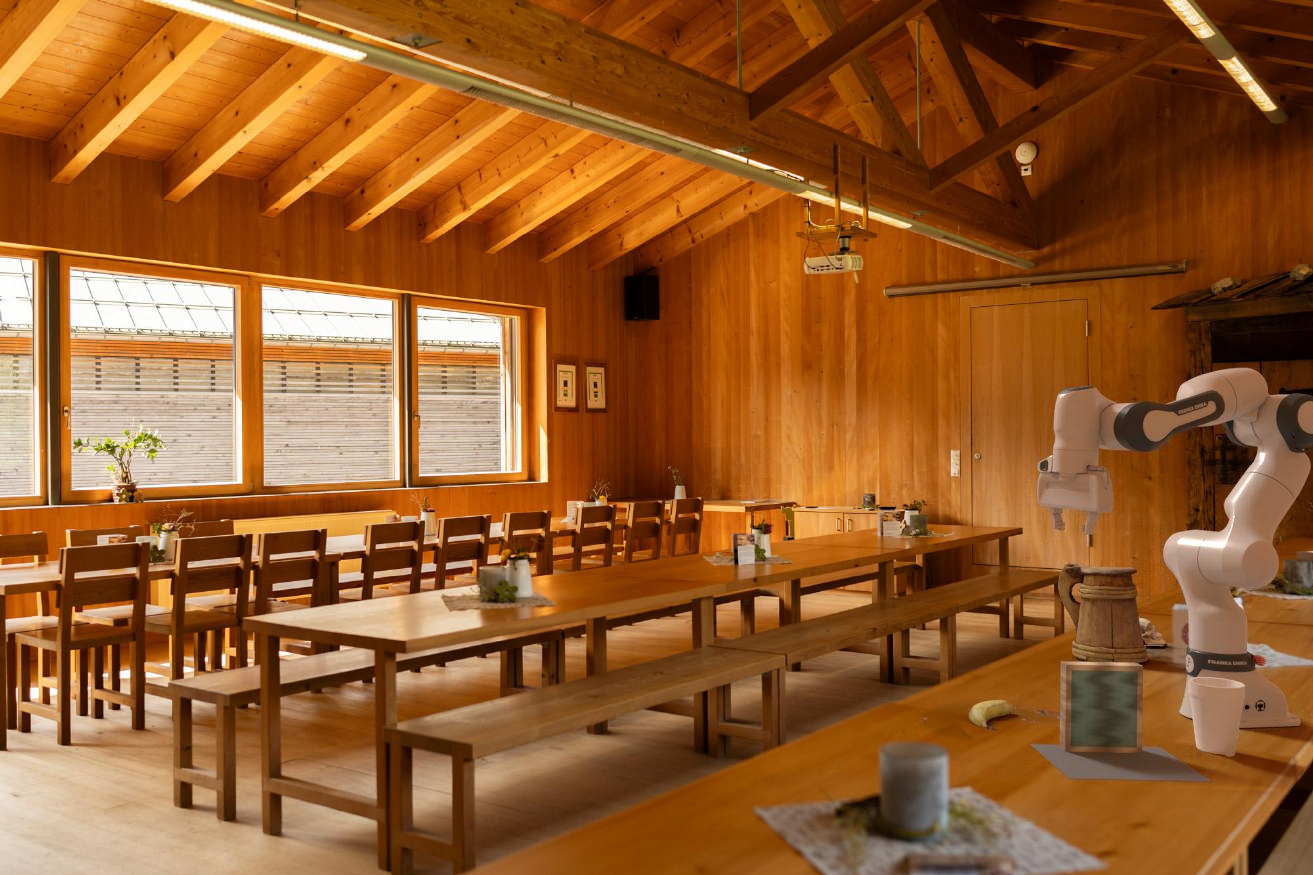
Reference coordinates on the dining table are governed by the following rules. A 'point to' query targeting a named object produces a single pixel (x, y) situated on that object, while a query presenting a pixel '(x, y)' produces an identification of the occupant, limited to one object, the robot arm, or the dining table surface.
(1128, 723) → the table sign
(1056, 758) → the mat
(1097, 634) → the tankard
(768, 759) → the dining table surface
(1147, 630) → the skull
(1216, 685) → the foam cup
